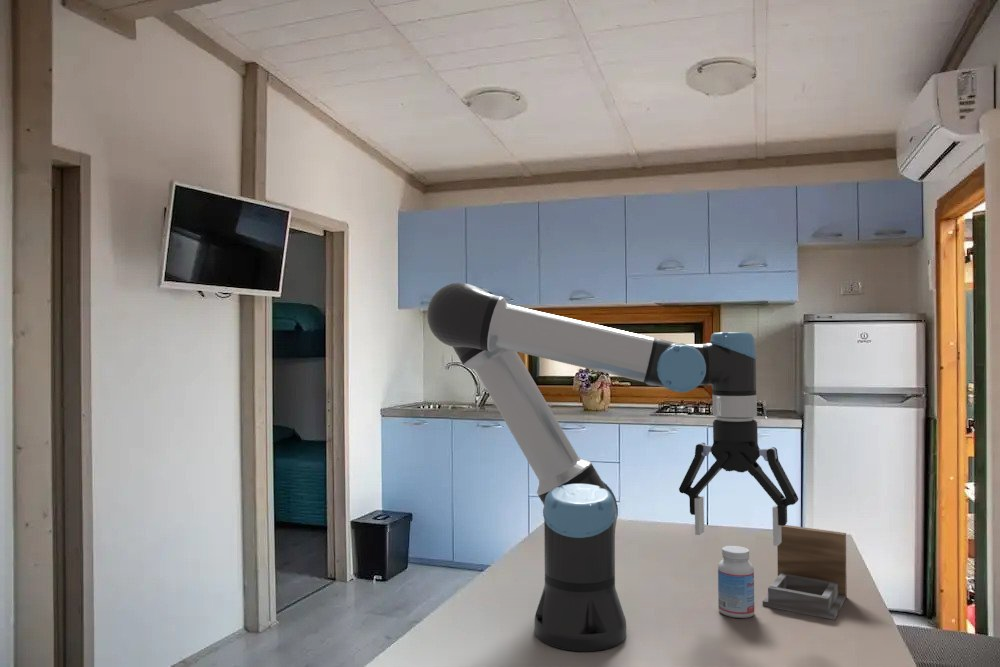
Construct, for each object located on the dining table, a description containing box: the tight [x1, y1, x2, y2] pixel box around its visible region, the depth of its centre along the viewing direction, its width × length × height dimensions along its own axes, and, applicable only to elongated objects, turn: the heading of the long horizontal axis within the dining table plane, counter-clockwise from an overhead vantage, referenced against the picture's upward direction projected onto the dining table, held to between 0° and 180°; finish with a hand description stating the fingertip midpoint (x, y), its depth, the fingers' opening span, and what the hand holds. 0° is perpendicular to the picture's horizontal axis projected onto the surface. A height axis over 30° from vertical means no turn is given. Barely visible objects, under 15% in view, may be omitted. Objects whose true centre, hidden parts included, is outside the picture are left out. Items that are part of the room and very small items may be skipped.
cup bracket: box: [762, 524, 848, 621], centre depth 132 cm, size 13×12×12 cm
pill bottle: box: [717, 545, 755, 619], centre depth 126 cm, size 6×6×11 cm
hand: (737, 538), depth 127 cm, fingers open, 13 cm apart
